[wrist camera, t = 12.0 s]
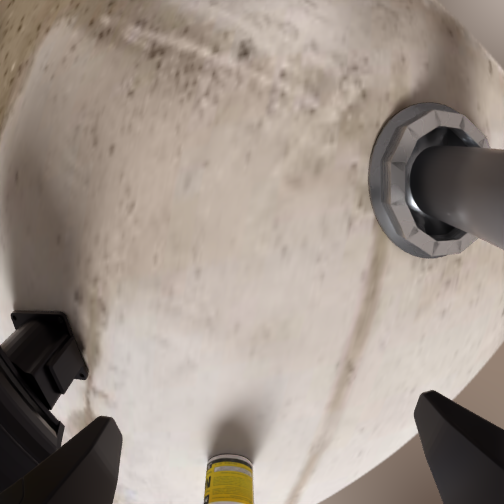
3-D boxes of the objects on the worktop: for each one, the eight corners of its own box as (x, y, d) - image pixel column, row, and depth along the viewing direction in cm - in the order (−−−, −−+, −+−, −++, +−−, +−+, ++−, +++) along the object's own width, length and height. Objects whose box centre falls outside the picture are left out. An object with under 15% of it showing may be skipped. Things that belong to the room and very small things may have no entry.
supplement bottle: (203, 452, 26) (196, 522, 18) (250, 451, 26) (252, 523, 18) (211, 475, 27) (207, 537, 19) (254, 474, 27) (256, 537, 19)
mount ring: (366, 263, 20) (376, 273, 18) (363, 95, 17) (374, 90, 15) (482, 251, 20) (495, 258, 18) (486, 114, 17) (501, 113, 15)
